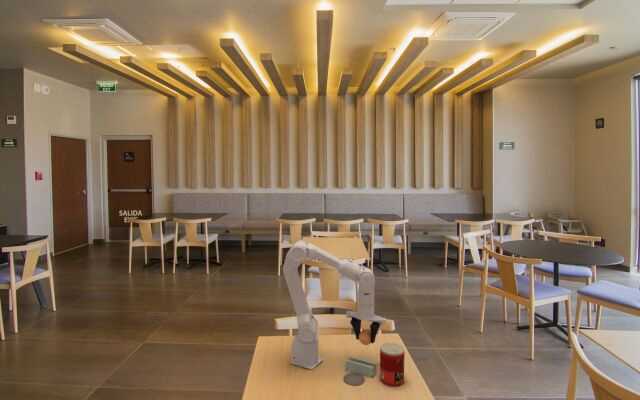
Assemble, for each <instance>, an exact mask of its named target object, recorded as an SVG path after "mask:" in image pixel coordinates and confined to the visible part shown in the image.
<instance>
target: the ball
mask: <svg viewBox="0 0 640 400" xmlns="http://www.w3.org/2000/svg"><path fill="white" fill-rule="evenodd" d="M359 342H360V344H361V345H364V346H369V345H370V344H372V343H371V330H370V331H369V330H367V329H364V330H361V332H360V334H359Z"/></svg>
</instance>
